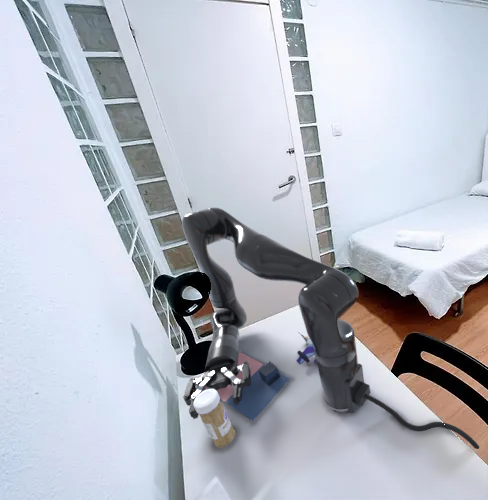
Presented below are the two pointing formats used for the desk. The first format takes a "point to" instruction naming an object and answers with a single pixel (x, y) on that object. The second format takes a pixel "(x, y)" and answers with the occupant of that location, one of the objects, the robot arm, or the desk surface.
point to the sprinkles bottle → (214, 417)
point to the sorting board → (253, 390)
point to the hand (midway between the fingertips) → (215, 409)
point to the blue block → (269, 373)
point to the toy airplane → (306, 351)
